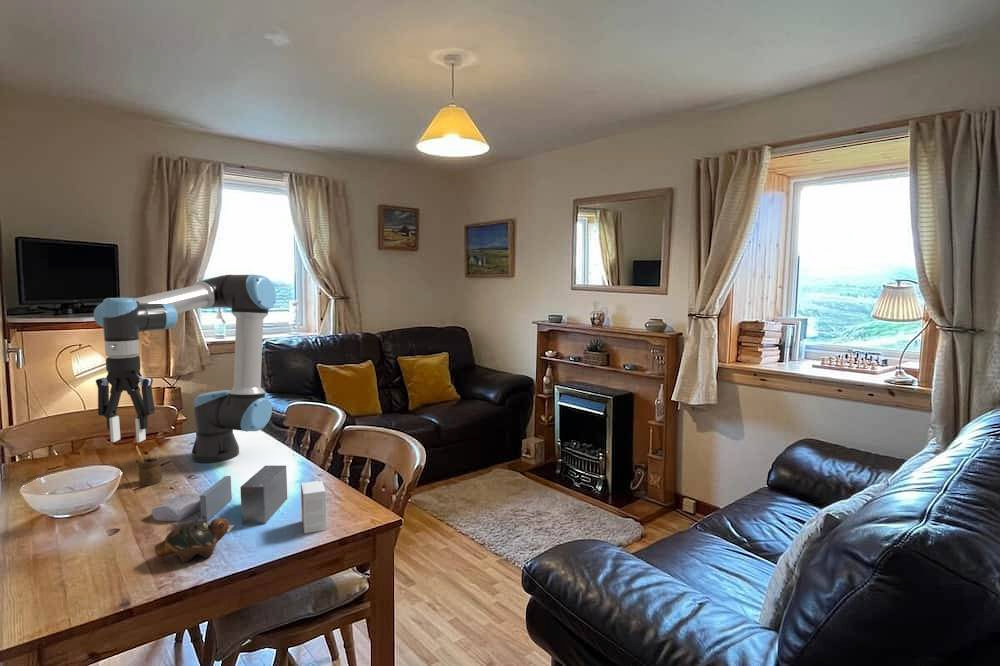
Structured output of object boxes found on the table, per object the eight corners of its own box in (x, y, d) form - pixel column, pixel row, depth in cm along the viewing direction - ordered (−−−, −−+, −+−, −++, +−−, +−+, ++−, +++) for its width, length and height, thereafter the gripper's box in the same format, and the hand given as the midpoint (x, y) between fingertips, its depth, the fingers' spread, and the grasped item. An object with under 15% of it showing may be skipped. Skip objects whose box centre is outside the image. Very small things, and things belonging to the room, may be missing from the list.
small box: (301, 521, 145) (300, 482, 144) (323, 517, 147) (322, 479, 146) (303, 534, 137) (302, 494, 136) (327, 530, 140) (325, 490, 138)
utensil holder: (159, 484, 169) (157, 446, 168) (136, 487, 167) (133, 448, 165) (164, 477, 174) (161, 441, 173) (141, 480, 172) (138, 443, 171)
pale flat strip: (195, 526, 141) (195, 524, 141) (234, 526, 141) (234, 524, 141) (188, 532, 138) (188, 530, 138) (228, 532, 138) (228, 530, 138)
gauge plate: (226, 499, 157) (225, 475, 157) (231, 499, 157) (230, 475, 157) (191, 530, 138) (189, 503, 138) (196, 530, 138) (195, 503, 138)
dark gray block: (266, 498, 159) (265, 465, 158) (287, 498, 159) (286, 465, 158) (241, 523, 143) (240, 487, 142) (265, 523, 143) (263, 486, 142)
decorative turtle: (234, 554, 127) (230, 523, 126) (157, 578, 119) (152, 544, 118) (228, 536, 135) (224, 506, 134) (156, 556, 127) (151, 525, 126)
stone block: (148, 526, 145) (180, 522, 143) (145, 509, 145) (176, 504, 143) (183, 509, 157) (213, 505, 155) (179, 493, 157) (209, 489, 155)
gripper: (75, 358, 141) (82, 445, 144) (150, 358, 142) (156, 445, 144) (96, 353, 149) (102, 436, 151) (167, 354, 149) (172, 436, 152)
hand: (128, 440), depth 148 cm, fingers open, 6 cm apart
